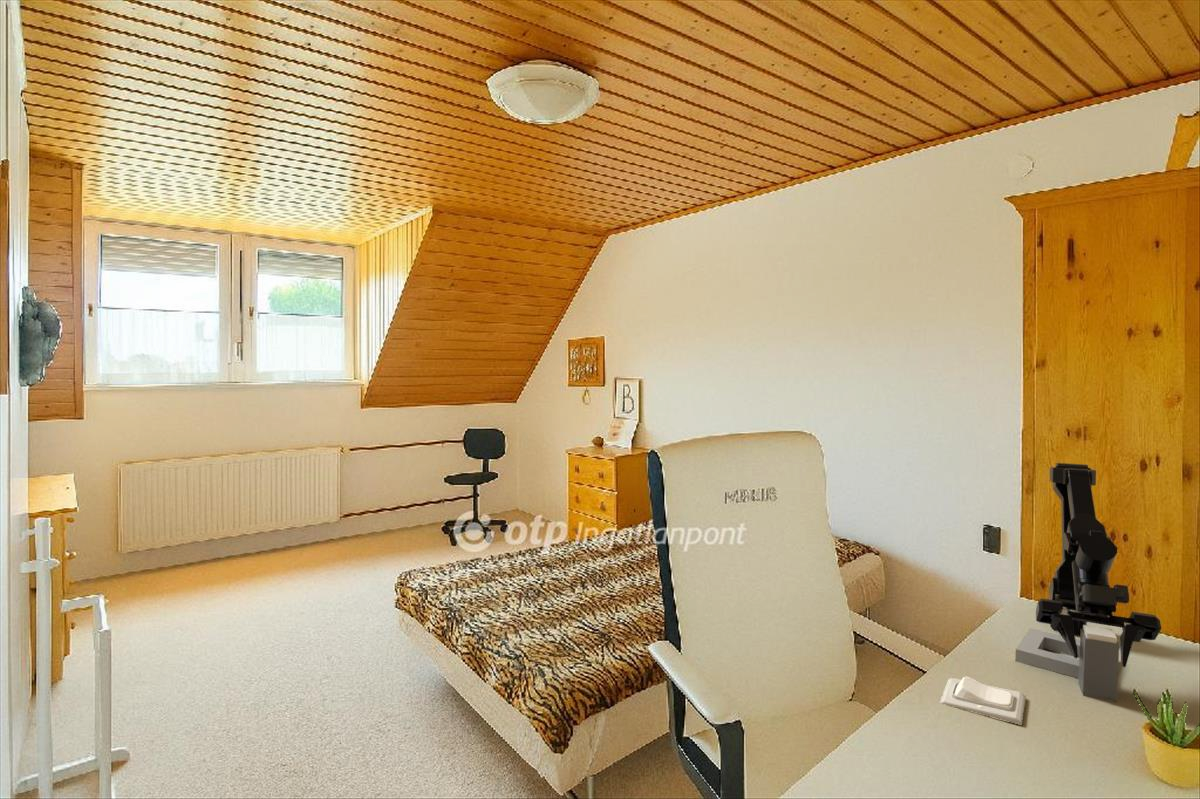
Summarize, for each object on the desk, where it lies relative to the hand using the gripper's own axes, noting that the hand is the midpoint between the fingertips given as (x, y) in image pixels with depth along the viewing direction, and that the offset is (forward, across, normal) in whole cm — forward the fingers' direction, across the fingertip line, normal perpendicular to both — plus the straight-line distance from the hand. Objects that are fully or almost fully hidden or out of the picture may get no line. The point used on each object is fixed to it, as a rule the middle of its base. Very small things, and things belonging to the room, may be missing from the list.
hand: (1099, 661), depth 119 cm
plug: (+4, 0, +6) cm, 7 cm away
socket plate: (-5, -4, +14) cm, 16 cm away
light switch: (+14, -19, -3) cm, 24 cm away
